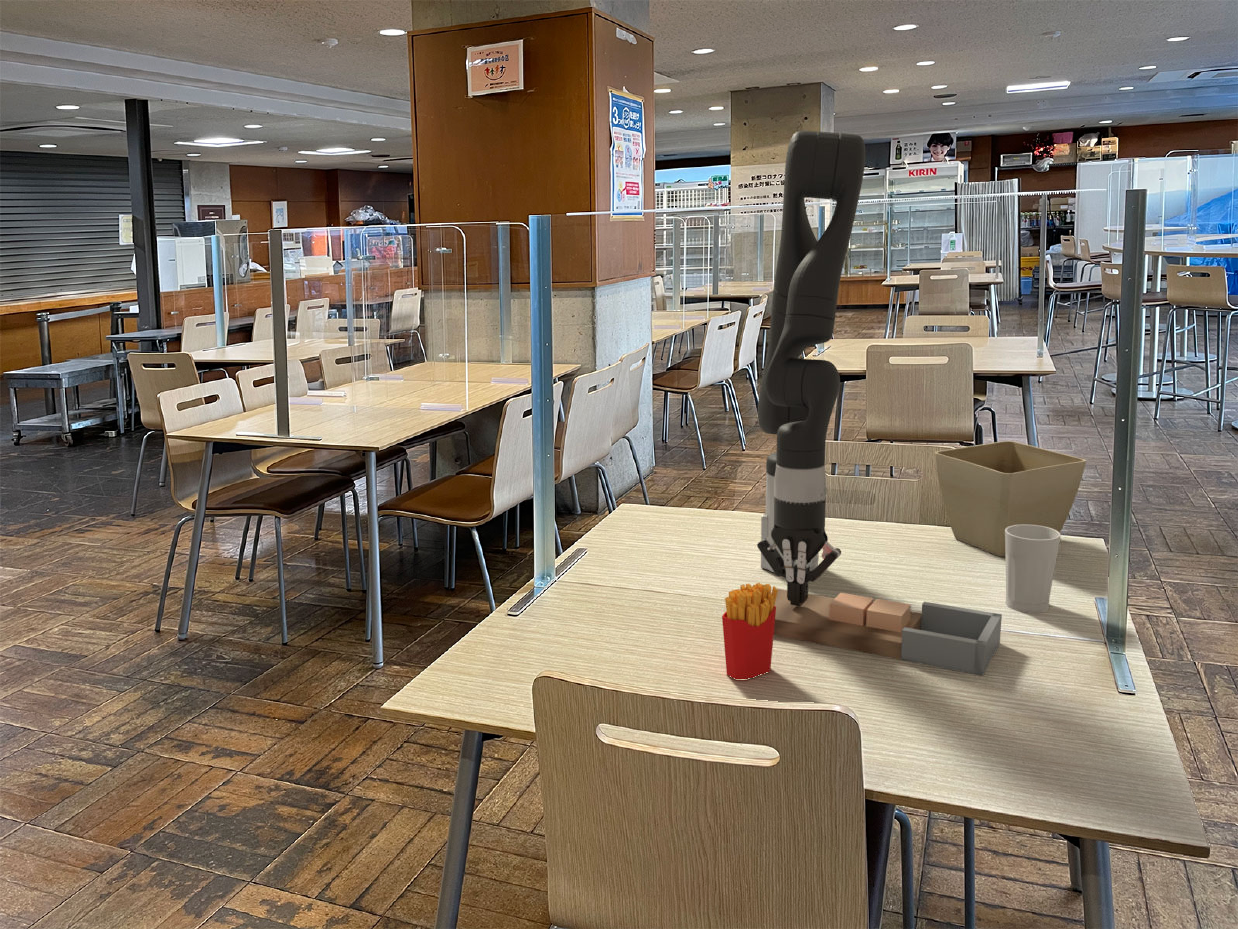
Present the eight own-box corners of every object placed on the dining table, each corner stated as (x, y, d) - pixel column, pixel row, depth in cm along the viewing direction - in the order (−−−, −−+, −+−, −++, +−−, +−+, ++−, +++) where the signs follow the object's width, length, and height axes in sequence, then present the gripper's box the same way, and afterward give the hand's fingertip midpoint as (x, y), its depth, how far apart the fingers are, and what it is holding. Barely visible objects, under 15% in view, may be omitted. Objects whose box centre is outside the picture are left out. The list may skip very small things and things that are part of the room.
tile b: (866, 626, 146) (866, 610, 146) (876, 614, 151) (876, 598, 150) (900, 632, 144) (901, 616, 143) (910, 620, 148) (910, 604, 148)
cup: (1059, 616, 155) (1065, 541, 152) (1004, 613, 157) (1009, 538, 154) (1048, 597, 163) (1054, 525, 160) (996, 594, 164) (1001, 523, 161)
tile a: (829, 619, 149) (829, 603, 149) (840, 608, 153) (840, 592, 153) (862, 625, 147) (863, 609, 146) (872, 614, 151) (873, 598, 150)
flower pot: (1000, 566, 177) (1007, 472, 173) (927, 536, 194) (931, 450, 190) (1081, 550, 184) (1089, 460, 180) (1003, 523, 201) (1009, 440, 197)
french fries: (736, 684, 135) (736, 599, 132) (716, 674, 138) (716, 591, 135) (782, 668, 139) (784, 585, 137) (763, 658, 143) (764, 577, 140)
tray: (900, 659, 141) (902, 630, 140) (922, 629, 151) (924, 601, 150) (982, 675, 136) (985, 645, 135) (999, 643, 146) (1001, 614, 145)
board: (747, 629, 152) (747, 614, 152) (776, 603, 163) (777, 588, 162) (900, 659, 141) (901, 643, 141) (922, 629, 151) (923, 613, 151)
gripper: (748, 494, 150) (747, 604, 154) (834, 505, 143) (831, 620, 148) (767, 482, 156) (766, 589, 160) (851, 492, 150) (847, 603, 154)
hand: (797, 603), depth 154 cm, fingers closed
